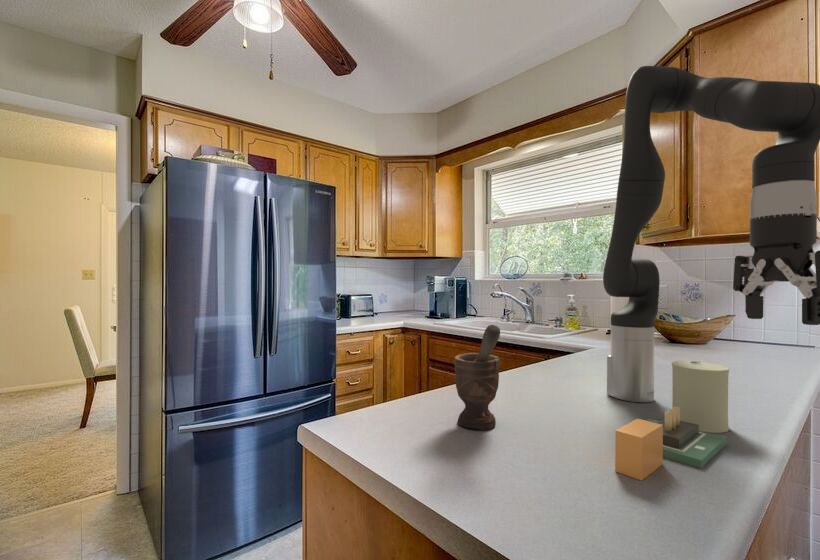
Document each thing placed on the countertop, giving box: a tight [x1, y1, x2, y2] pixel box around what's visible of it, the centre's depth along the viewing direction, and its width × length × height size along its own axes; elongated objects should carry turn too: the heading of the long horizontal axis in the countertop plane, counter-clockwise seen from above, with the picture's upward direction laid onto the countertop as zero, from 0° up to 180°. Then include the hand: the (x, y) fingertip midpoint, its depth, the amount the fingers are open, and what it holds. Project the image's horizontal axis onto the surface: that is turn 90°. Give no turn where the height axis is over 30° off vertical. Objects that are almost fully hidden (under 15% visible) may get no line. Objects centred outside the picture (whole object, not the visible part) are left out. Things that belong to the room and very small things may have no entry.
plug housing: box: [614, 418, 664, 481], centre depth 61 cm, size 4×8×6 cm, turn 130°
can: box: [671, 360, 730, 434], centre depth 79 cm, size 9×9×12 cm
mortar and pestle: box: [454, 324, 501, 431], centre depth 77 cm, size 12×9×20 cm
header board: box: [646, 407, 727, 469], centre depth 70 cm, size 12×14×6 cm
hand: (781, 321), depth 62 cm, fingers open, 8 cm apart
